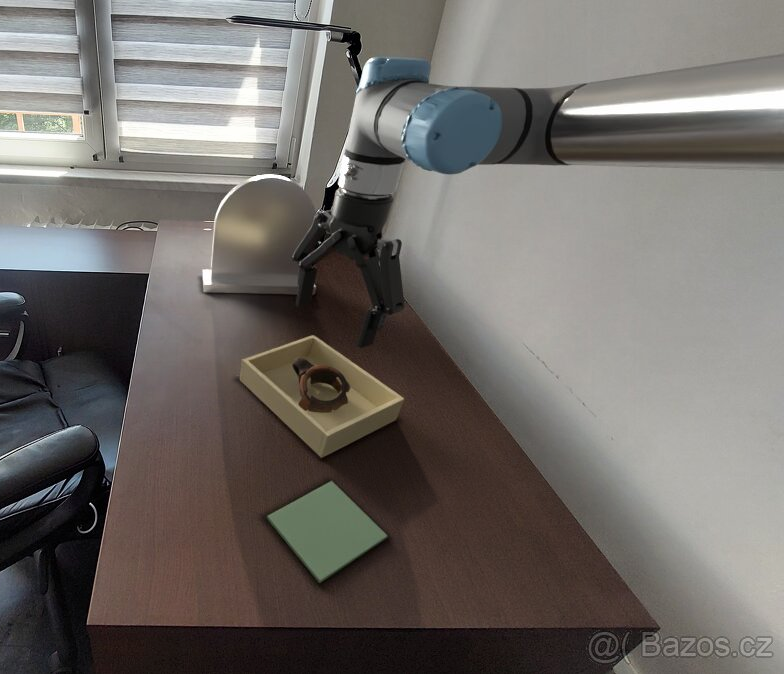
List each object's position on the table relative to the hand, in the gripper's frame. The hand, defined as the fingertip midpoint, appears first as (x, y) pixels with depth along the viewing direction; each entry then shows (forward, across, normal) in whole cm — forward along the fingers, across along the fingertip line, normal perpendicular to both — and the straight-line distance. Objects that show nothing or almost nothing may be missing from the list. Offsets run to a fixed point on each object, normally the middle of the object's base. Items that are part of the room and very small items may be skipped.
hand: (331, 323), depth 74 cm
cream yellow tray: (+16, 0, 0) cm, 16 cm away
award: (+16, -40, +18) cm, 46 cm away
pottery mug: (+16, 0, 0) cm, 16 cm away
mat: (+16, +20, -17) cm, 31 cm away
